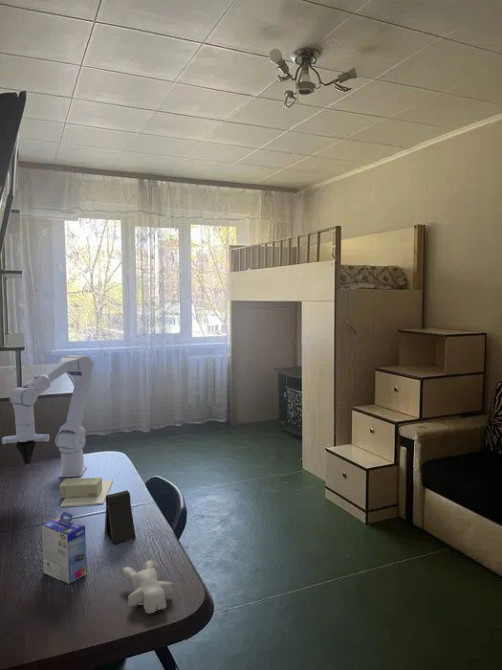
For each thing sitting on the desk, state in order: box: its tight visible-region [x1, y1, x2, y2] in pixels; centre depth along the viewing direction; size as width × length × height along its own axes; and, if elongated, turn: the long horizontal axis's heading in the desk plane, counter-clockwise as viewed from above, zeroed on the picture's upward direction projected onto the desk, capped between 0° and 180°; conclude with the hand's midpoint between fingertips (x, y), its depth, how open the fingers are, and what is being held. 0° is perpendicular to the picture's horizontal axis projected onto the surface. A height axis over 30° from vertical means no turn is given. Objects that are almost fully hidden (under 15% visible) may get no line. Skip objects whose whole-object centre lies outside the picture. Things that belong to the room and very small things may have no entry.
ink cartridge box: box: [41, 511, 88, 584], centre depth 117 cm, size 10×6×14 cm, turn 58°
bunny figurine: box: [120, 560, 173, 614], centre depth 108 cm, size 10×5×15 cm
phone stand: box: [104, 489, 137, 546], centre depth 135 cm, size 9×6×12 cm, turn 31°
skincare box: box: [58, 477, 103, 499], centre depth 162 cm, size 6×4×12 cm
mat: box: [60, 480, 114, 508], centre depth 163 cm, size 18×13×1 cm
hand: (27, 462), depth 164 cm, fingers closed
